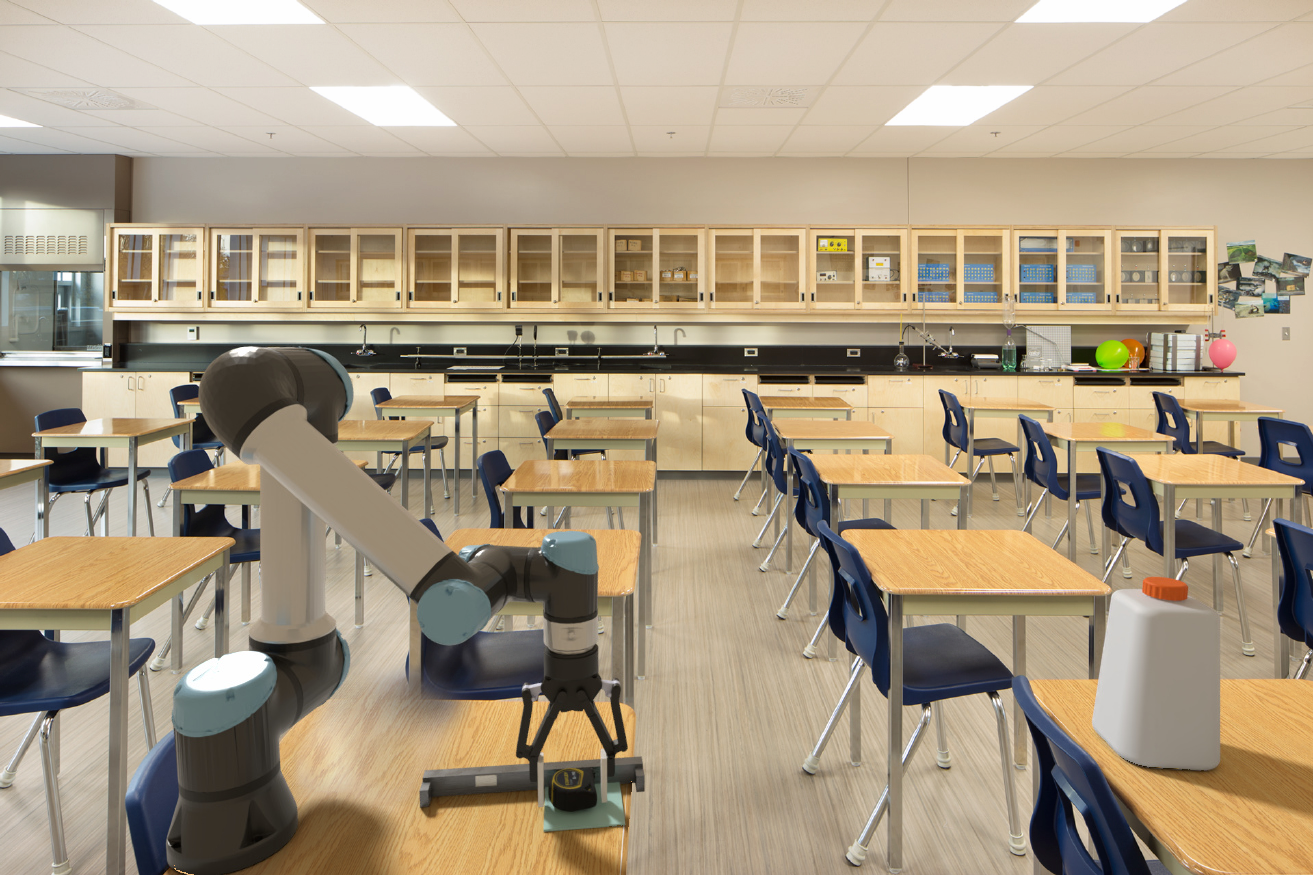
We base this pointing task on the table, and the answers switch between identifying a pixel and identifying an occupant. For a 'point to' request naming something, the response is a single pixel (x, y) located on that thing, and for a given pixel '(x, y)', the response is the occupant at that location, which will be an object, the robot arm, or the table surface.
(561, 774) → the tape measure
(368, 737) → the table surface
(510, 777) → the rail
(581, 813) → the pad
